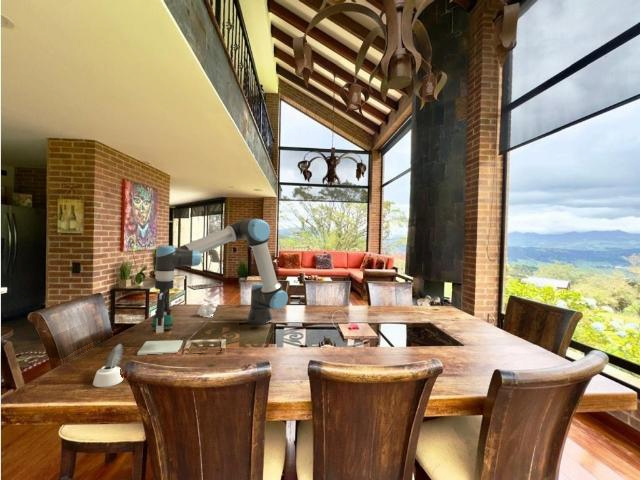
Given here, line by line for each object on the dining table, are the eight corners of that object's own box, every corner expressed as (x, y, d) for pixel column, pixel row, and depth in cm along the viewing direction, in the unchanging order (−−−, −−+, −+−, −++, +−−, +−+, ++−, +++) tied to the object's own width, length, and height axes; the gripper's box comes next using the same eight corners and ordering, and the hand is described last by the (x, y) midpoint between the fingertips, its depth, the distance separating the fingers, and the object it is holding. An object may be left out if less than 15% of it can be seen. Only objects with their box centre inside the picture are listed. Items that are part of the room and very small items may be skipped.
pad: (182, 342, 159) (182, 340, 159) (177, 353, 145) (177, 351, 145) (146, 343, 155) (146, 341, 155) (137, 355, 141) (137, 352, 141)
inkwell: (88, 388, 111) (89, 359, 110) (105, 367, 128) (106, 341, 128) (119, 386, 114) (120, 357, 113) (132, 365, 131) (133, 340, 130)
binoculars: (172, 307, 157) (174, 310, 148) (171, 330, 156) (173, 334, 147) (151, 308, 152) (152, 311, 144) (150, 332, 152) (150, 336, 143)
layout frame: (225, 340, 165) (225, 339, 165) (224, 352, 149) (225, 351, 149) (187, 341, 161) (187, 340, 161) (182, 354, 144) (182, 353, 144)
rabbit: (218, 315, 210) (219, 297, 210) (210, 319, 201) (211, 300, 201) (200, 314, 213) (201, 295, 212) (192, 317, 203) (193, 298, 203)
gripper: (160, 276, 159) (158, 322, 160) (149, 283, 138) (146, 336, 138) (177, 276, 161) (175, 322, 162) (168, 284, 139) (166, 336, 140)
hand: (162, 328), depth 150 cm, fingers closed on binoculars, 10 cm apart
